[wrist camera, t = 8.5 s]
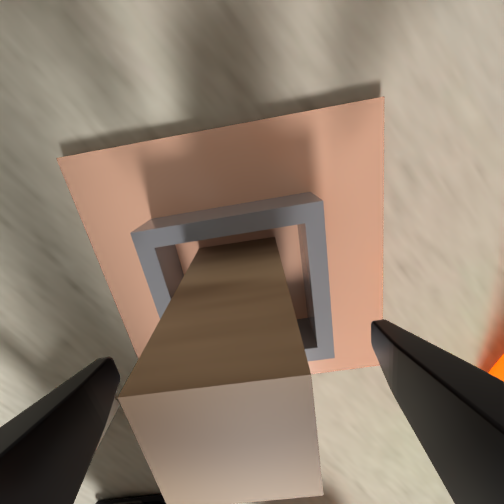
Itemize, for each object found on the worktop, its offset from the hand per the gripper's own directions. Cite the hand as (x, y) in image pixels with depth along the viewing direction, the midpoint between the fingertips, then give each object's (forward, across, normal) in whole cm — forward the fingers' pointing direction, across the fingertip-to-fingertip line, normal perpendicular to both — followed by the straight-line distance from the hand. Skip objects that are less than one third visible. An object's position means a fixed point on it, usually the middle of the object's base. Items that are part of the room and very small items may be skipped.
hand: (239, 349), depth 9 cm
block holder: (+6, 0, 0) cm, 6 cm away
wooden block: (+6, 0, 0) cm, 6 cm away
